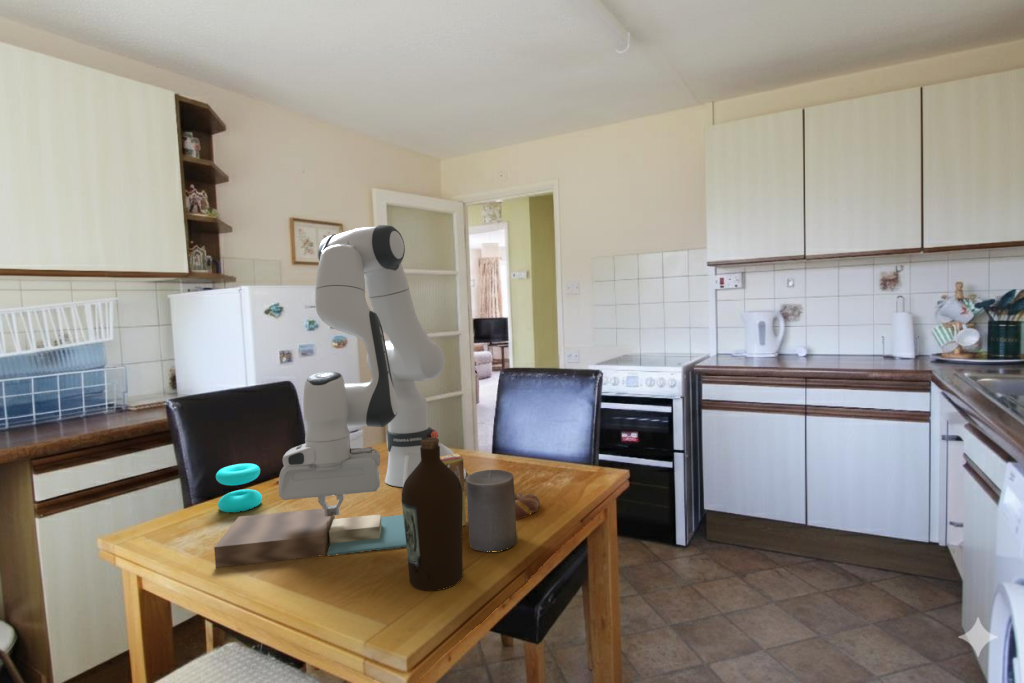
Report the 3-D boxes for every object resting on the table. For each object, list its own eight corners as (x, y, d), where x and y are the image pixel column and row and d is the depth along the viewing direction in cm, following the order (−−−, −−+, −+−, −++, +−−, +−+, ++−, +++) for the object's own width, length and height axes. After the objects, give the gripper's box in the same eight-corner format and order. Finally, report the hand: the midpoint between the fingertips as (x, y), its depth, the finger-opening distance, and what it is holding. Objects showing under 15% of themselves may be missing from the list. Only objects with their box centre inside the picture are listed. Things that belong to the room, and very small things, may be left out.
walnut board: (335, 524, 127) (334, 507, 127) (324, 555, 112) (323, 535, 111) (240, 534, 124) (238, 516, 124) (215, 567, 108) (214, 547, 108)
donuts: (233, 461, 147) (268, 462, 145) (236, 499, 147) (270, 500, 146) (206, 473, 137) (243, 474, 135) (209, 513, 138) (245, 515, 136)
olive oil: (455, 559, 108) (449, 429, 106) (474, 584, 98) (468, 441, 96) (399, 572, 103) (392, 437, 102) (414, 599, 94) (406, 450, 92)
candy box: (460, 519, 128) (457, 452, 127) (467, 526, 124) (463, 457, 123) (422, 527, 124) (418, 458, 123) (428, 534, 120) (424, 463, 119)
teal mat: (409, 516, 131) (409, 514, 131) (409, 546, 114) (409, 544, 114) (337, 523, 128) (337, 521, 128) (327, 556, 111) (327, 553, 111)
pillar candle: (512, 530, 120) (509, 461, 119) (521, 550, 111) (517, 474, 110) (466, 536, 119) (462, 466, 118) (471, 556, 109) (467, 479, 108)
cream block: (381, 525, 125) (381, 514, 125) (379, 538, 118) (379, 526, 118) (334, 530, 123) (333, 519, 123) (329, 543, 116) (329, 531, 116)
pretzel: (528, 500, 140) (527, 485, 140) (549, 514, 130) (549, 498, 130) (483, 508, 135) (482, 493, 135) (501, 524, 125) (501, 507, 125)
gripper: (380, 442, 123) (383, 504, 124) (281, 450, 120) (285, 514, 121) (378, 450, 117) (382, 515, 118) (274, 458, 114) (278, 525, 115)
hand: (332, 515), depth 119 cm, fingers closed
